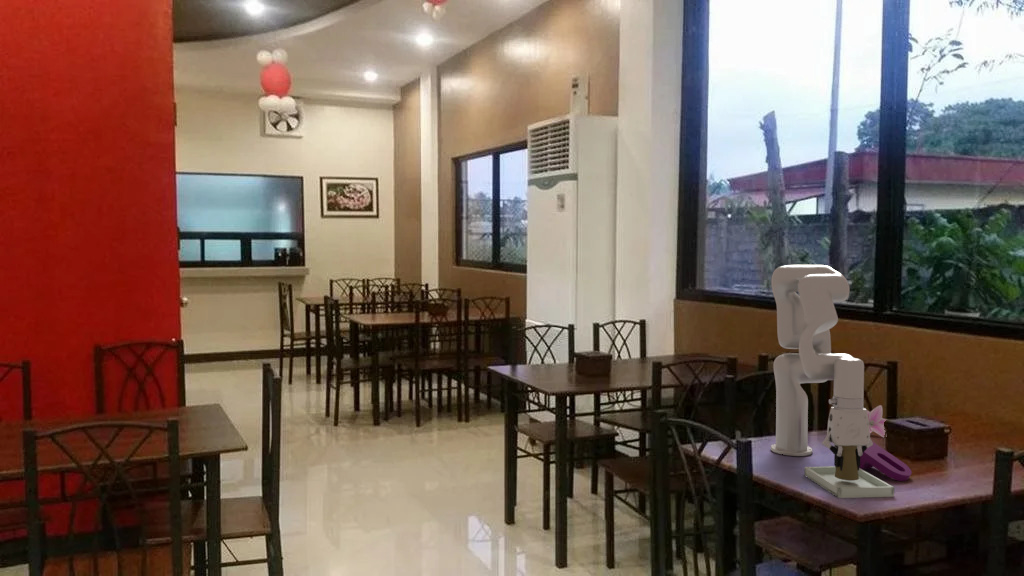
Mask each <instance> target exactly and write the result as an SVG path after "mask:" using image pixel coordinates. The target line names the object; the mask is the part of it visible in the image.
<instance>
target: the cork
mask: <svg viewBox="0 0 1024 576" xmlns="http://www.w3.org/2000/svg"><path fill="white" fill-rule="evenodd" d="M842 449H843V450H842V455H841V456H843V467H842V471H840V466H839V467H836V471H835V477H836V478H839V479H842V480H858V479H859V476H858V470H857V461H856V451H855V450H856V449H857V446H842Z"/></svg>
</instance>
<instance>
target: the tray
mask: <svg viewBox="0 0 1024 576" xmlns="http://www.w3.org/2000/svg"><path fill="white" fill-rule="evenodd" d="M835 471H836V468H835V465H834V466H804V473H803V474H804V475H805V476H804V477H806V476H807V477H808V478H807V477H806V478H807V479H808V480H810V479H811V480H810V481H812V482H813V481H814V482H813V483H815V484H816V483H817V484H816V485H818V486H819V485H820V486H819V487H821V488H822V487H823V488H822V489H823V490H825V489H826V492H829V493H830V494H831V493H832V494H831V495H833V496H834V495H835V497H836V498H837V499H850V498H853V499H855V498H857V499H858V498H860V499H861V498H889V497H890V498H892V497H895V486H893V485H891V484H889V483H887V482H886V481H884V480H882V479H880V478H878V477H876V475H875V476H874V475H873V474H871V473H870V472H868V471H866V470H865V469H864V470H862V469H860V468H859V471H858V476H859V479H858V480H842V479H839V478H836V477H835Z"/></svg>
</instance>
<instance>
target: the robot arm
mask: <svg viewBox="0 0 1024 576" xmlns="http://www.w3.org/2000/svg"><path fill="white" fill-rule="evenodd" d="M850 289H851V288H850V284H849V282H848V280H847V278H846V277H845V276H844V274H842V273H841V272H839V271H837V270H835V269H834V268H832V267H831V266H830V265H826V264H825V265H824V264H787V265H781V266H778V267H777V268H775V269H774V270H773V273H772V276H771V291H772V293H773V298H774V300H775V304H776V305H775V306H776V327H777V329H776V330H777V333H776V334H777V340H778V344H779V345H780V347H782V349H790V350H798V353H797V352H793V353H792V352H789V353H788V352H787V353H782V354H779V355H778V356H776V357H775V359H774V361H773V365H772V366H773V374H774V380H775V391H776V392H775V394H776V395H775V397H776V398H775V400H776V401H775V403H776V404H775V407H776V409H775V411H776V412H775V415H776V416H775V417H776V418H775V443H774V444H771V445H770V451H772V452H773V453H775V454H779V455H782V454H783V455H784V456H790V457H791V456H793V457H806V456H810V455H812V454H813V452H814V451H813V448H812V447H810V446H809V445H808V438H809V437H808V434H809V433H808V432H809V431H808V430H809V429H808V427H809V424H808V422H809V421H808V419H809V417H808V416H809V415H808V414H809V411H808V410H809V399H808V395H807V393H806V391H805V390H804V389H803V387H802V386H801V384H820V383H825V382H827V381H833V395H832V398H830V399H828V404H829V405H832V406H831V407H830V409H829V413H828V420H827V430H826V431H827V432H826V433H827V434H826V436H825V438H824V439H823V441H822V443H821V444H822V445H823V446H824V447H826V448H827V449H828V450H830V451H831V453H832V454H833V457H834V462H833V463H834V466H835V468H836V467H839V466H840V471H842V467H843V456H841V455H842V450H843V449H842V446H857V449H856V450H855V451H856V461H857V470H858V471H859V467H860V456H862V454H863V452H864V451H865V450H866V449H867V448H869V447H870V446H872V445H873V442H874V441H872V439H871V433H870V429H869V419H868V414H867V410H868V409H867V408H866V407H864V396H865V394H864V393H865V392H864V391H865V389H864V388H865V387H864V386H865V363H864V360H862V359H860V358H857V357H854V356H853V355H851V354H849V353H845V352H844V353H842V352H841V353H833V352H832V340H831V332H830V329H833V327H835V326H836V325H837V323H838V322H839V318H838V317H839V316H838V313H837V310H836V307H835V303H840V302H844V301H846V300H847V299H848V298H849V295H850ZM831 443H832V444H831Z"/></svg>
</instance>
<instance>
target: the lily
mask: <svg viewBox="0 0 1024 576" xmlns="http://www.w3.org/2000/svg"><path fill="white" fill-rule="evenodd" d="M866 410H867V414H868V419H869V429H870V434H871V433H872V432H874V433H876V434H877V435H878V436H880V437H882V438H884V435H885V432H886V429H885V426H884V422H885V421H886V420H888V419H887V418H883V406H882V405H881V404H880V405H877V406H876V407H874V408H873V409H872V410H871V411H869V410H868V409H866ZM884 429H885V430H884Z"/></svg>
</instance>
